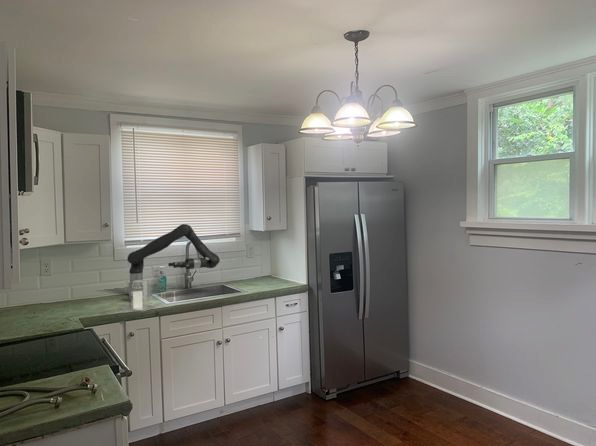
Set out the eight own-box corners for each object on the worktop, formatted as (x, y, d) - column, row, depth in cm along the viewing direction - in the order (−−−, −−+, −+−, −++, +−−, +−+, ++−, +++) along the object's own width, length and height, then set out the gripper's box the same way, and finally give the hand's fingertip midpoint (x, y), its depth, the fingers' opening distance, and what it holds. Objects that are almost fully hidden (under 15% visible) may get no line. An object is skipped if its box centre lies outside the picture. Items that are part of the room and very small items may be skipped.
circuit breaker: (152, 299, 322) (151, 278, 322) (143, 303, 308) (142, 281, 307) (142, 298, 323) (141, 278, 322) (132, 303, 309) (132, 281, 308)
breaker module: (129, 307, 294) (129, 292, 293) (140, 305, 298) (140, 290, 298) (131, 308, 291) (131, 293, 290) (142, 306, 295) (142, 291, 295)
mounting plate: (118, 308, 293) (118, 307, 293) (131, 304, 304) (131, 303, 304) (143, 311, 285) (143, 310, 285) (155, 307, 297) (155, 306, 297)
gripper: (188, 257, 325) (166, 259, 315) (197, 259, 314) (175, 261, 303) (188, 267, 325) (166, 269, 315) (197, 269, 314) (175, 272, 304)
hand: (170, 265), depth 309 cm, fingers open, 8 cm apart
